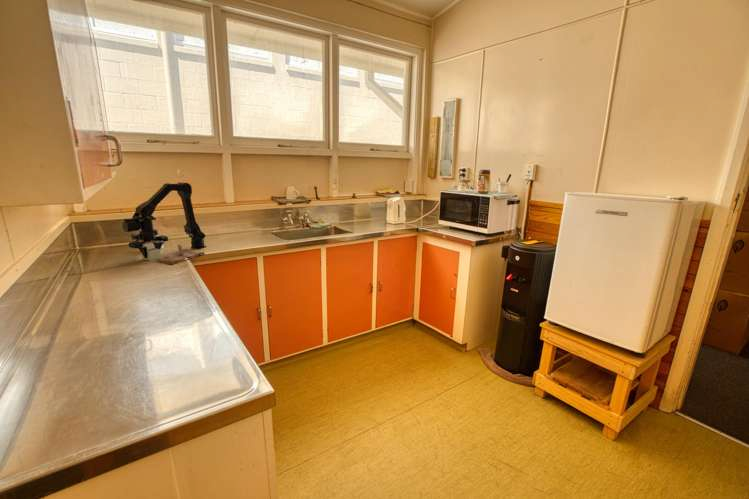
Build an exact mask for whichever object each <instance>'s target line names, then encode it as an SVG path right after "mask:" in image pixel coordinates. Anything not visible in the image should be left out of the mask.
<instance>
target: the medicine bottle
mask: <svg viewBox="0 0 749 499" xmlns="http://www.w3.org/2000/svg"><path fill="white" fill-rule="evenodd" d="M153 229H154V230H155V232H154V236H159V231H158V229H155V228H153ZM162 242H163V241H162ZM144 245H145V247H147V249H149V248H155V246H154V244H153V243H148V244H144ZM164 247H165V246H164V244H163V245H162V247H161V249H160V250H162V249H164Z"/></svg>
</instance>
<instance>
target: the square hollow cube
mask: <svg viewBox="0 0 749 499" xmlns="http://www.w3.org/2000/svg"><path fill="white" fill-rule="evenodd" d="M141 255H142V256H141V257H142V260H144V261H145V260H146V261H150V262H151V261H155V260H157V258H161V257H162V256H161V249H156V248H149V249H147V258H145V257H144V256H143V254H142V253H141Z"/></svg>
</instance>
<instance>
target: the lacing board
mask: <svg viewBox="0 0 749 499" xmlns="http://www.w3.org/2000/svg"><path fill="white" fill-rule="evenodd" d="M177 248H178V252H175V253H171V254H169V255H165V256H161V258H157V259H156V261H157V262H159V263H165V264H169V265H175V264H179V263H182V262H185V261H184V259H185V258H188V259H189V260H192V259H194V258H199V257H200V256H199V255H201V254H204V255H205V251H201V250H196V249H185V250H183V244H181V243H180V244H177ZM201 256H202V255H201Z"/></svg>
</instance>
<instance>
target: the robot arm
mask: <svg viewBox="0 0 749 499" xmlns="http://www.w3.org/2000/svg"><path fill="white" fill-rule="evenodd" d="M192 188H193V187H192V185H191V183H189V182H180V181H179V182H177V183H168V182H165V183H164V184H163V185H162V186H161V187H160V188H159V189H158V190H157V191H156V192H155V193H154V194H153V195H152V196H150V198H149V199H148V200H146V201H144V202H142V203H140V204H139V205H138V206H135V212H134V214H133V215H132V216H131V218H124V219H123V220H122V221H123V222H122V225H121V226H122V230H123V231H124V233H131V232H137V231H139V233H132V234H131V235H130V236H131V239H132V240H133V241H129V242H128V248H129V249H130V248H131V249H138V250H139V251H140V253H141V255H142V254H143V256H144V257H145V258H147V247H145V245H144V244H148V243H153V244H154V246H155V248H156V249H160V250H162V249H161V247H162V245H163V246H164V244H165V243H166V242H168V241H169V237H168V236H167V235H163V234H160V235H158V236H154V232H155V230H154V229H155V228H154V224H153V221H154V220H157V217H154V216H153V214H154V212H155V210H156V209H157V206H158V205H159V204H160V203H161V202H162V201H163V199H164V198H166V197H167V196H168V195H169V194H170V193H171V192H172V191H175V192H176V193H177V195H178V196H179V197H180V199H181V203H182V209H183V213H184V217H185V221H186V222H185V223H186V224H185V225H184V224H183V230H184V233H185V234H186V235H188V238H190V239H191V240H190V244H191V246H190V249H193V250H200V249H203V248H207V245H205V240H204V239H205V238H206V234H205V233H204V232H203V231H202V230H201V228H200V225H199V224H198V222H197V221H196V218H195V216H196V215H195V212H194V208H193V203H192V198H191V197H192V194H193V189H192ZM162 241H163V242H162Z"/></svg>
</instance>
